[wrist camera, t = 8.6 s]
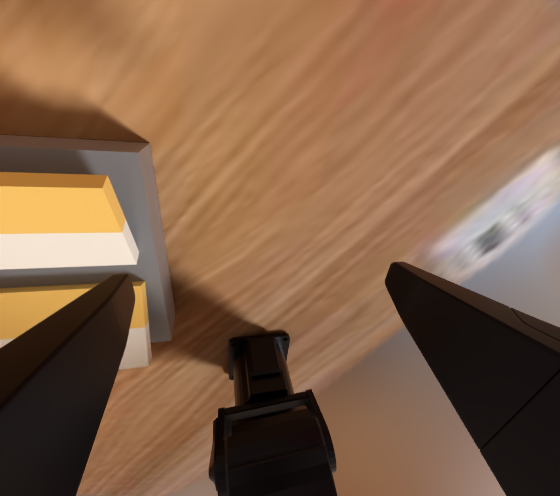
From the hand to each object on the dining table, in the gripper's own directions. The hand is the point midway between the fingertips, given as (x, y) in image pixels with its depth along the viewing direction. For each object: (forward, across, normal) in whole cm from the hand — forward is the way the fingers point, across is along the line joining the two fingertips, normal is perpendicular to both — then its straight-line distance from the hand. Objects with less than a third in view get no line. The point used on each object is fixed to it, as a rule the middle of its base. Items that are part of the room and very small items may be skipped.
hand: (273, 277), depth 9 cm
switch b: (+8, +13, +2) cm, 15 cm away
